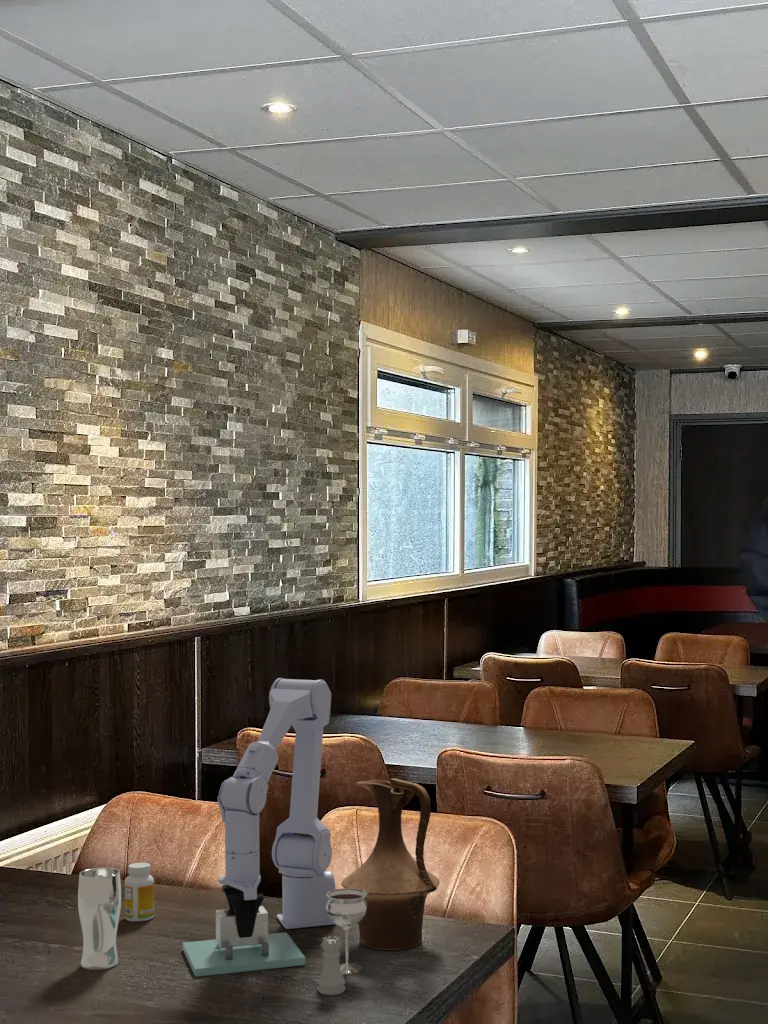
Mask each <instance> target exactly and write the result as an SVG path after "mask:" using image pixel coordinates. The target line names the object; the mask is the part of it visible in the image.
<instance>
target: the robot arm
mask: <svg viewBox="0 0 768 1024" xmlns="http://www.w3.org/2000/svg"><path fill="white" fill-rule="evenodd" d="M268 695H269V696H268V703H269V709H270V710H269V712H268V715H267V717H266V720H265V722H264V725H263V726H262V730H261V732H260V735H259V738H258V740H257V741H254V742H251V743H249V744H248V746H247V747H246V750H245V752H244V754H243V756H242V758H241V759H240V762H239V763H238V766H236V770H235V771H234V773H233V775H232V776H230V777H228V778H227V779H225V780H224V781H222V783H221V785H220V788H219V791H218V796H217V803H218V804H217V805H218V808H219V810H220V812H221V820H222V822H223V823H224V827H225V828H224V855H225V856H224V857H225V858H224V861H225V862H224V865H225V867H224V869H225V870H224V872H225V873H224V874H225V876H219V877H218V878H217V882H218V884H220V885H222V886H221V889H222V890H223V893H224V894H225V896H226V897H225V898H226V900H227V904H228V907H229V908H228V909H234V912H235V917H236V924H237V930H238V934H239V937H240V938H245V937H252V935H253V931H254V926H255V921H256V916H257V913H258V910H259V907H260V906H262V903H263V902H264V898H265V895H264V894H263V893H258V887H259V885H260V883H261V881H262V876H261V874H260V873H261V872H260V871H261V870H260V868H261V867H260V862H261V861H260V852H261V851H260V813H261V812H262V810H263V809H264V808H265V805H266V802H267V793H268V789H269V785H268V782H269V780H270V777H271V776H272V774H273V773H274V769H275V768H276V766H277V764H278V761H279V754H278V752H277V749H278V748H279V747H280V744H281V743H282V741H283V740H284V738H285V737H286V735H287V733H288V732H289V730H290V729H291V727H292V728H293V730H294V732H295V738H294V750H293V751H294V752H293V763H292V765H293V766H292V779H291V791H290V805H289V817H288V818H287V819H285V820H284V821H283V822H282V823H280V824H279V825H278V826H277V828H276V832H275V833H276V834H275V838H274V841H273V844H272V847H271V848H272V849H271V858H272V862H273V864H274V866H275V867H276V868H277V869H278V874H281V876H282V877H281V880H282V881H281V883H282V884H281V886H282V887H281V888H282V892H281V893H282V897H281V898H282V901H281V902H282V913H278V914H276V918H277V919H278V921H279V922H280V923H281V924H282V926H283V927H284V928H285V930H292V929H301V928H309V927H310V928H311V927H321V926H330V925H336V924H335V923H334V922H333V921H332V920H331V919H330V918H329V917H328V914H327V912H326V905H327V901H328V897H327V895H326V894H327V893H328V892H329V891H332V890H336V881H335V876H334V874H333V871H331V870H327V869H328V868H329V866H330V864H331V862H332V857H333V848H332V843H331V842H332V841H331V830H330V829H329V828H328V827H327V826H326V825H325V824H324V823H323V822H322V821H321V820H320V819H319V818H318V812H319V811H318V809H319V796H320V795H319V793H320V781H321V766H322V765H321V764H322V755H323V754H322V752H323V751H322V750H323V737H324V736H323V735H324V727H326V726H327V725H329V723H330V717H331V706H332V705H331V703H332V692H331V690H330V688H329V686H328V684H327V682H326V681H325V680H324V679H315V680H314V679H313V680H312V679H293V678H283V677H278V678H276V679H275V680H274V681H273V684H272V685H271V687H270V690H269V694H268ZM298 834H299V835H298ZM300 834H304V835H300ZM308 835H309V836H308Z"/></svg>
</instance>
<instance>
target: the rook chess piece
mask: <svg viewBox="0 0 768 1024" xmlns="http://www.w3.org/2000/svg"><path fill="white" fill-rule="evenodd" d="M342 946H343V944H342V943H341V942H340V937H338V936H333V937H332V936H331V935H328V936H327V937H326V936H325V937H323V938H322V942H321V944H320V947H321V949H322V950H323V953H322V954H321V955H322V958H323V961H322V962H323V963H322V970H321V973H320V975H319V978H318V980H317V985H318V986H317V987H316V989H317V992H318V993H319V994H320V995H324V996H330V997H331V996H338V995H341V994H343V993H344V992H345V990H346V988H347V987H346V986H345V984H346V979H345V977H344V976H343V975H344V974H342V973H341V970H340V957H341V953H340V949H341V947H342Z"/></svg>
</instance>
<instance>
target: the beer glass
mask: <svg viewBox="0 0 768 1024" xmlns="http://www.w3.org/2000/svg"><path fill="white" fill-rule="evenodd" d="M78 877H79V878H78V891H77V906H78V907H77V909H78V916H79V922H80V928H81V934H82V941H83V942H82V943H83V944H82V946H83V947H82V948H83V949H82V955H81V960H80V966H81V968H82V969H84V970H89V971H103V970H109V969H112V968H114V967H116V966H118V965H119V962H120V961H119V955H118V953H119V952H118V949H117V948H118V947H117V934H118V928H119V921H120V918H121V917H120V915H121V908H122V883H121V882H122V881H121V870H120V869H118V868H115V867H109V866H107V867H106V866H103V867H101V866H100V867H92V868H87V869H84V870H82V871H80V872H79V875H78Z"/></svg>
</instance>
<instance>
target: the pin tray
mask: <svg viewBox="0 0 768 1024" xmlns="http://www.w3.org/2000/svg"><path fill="white" fill-rule="evenodd" d="M182 951H184V952H183V954H184V956H185V958H186V961H187V962H188V964H189V966H190V969H191V971H192V973H193V975H194V977H195V978H196V977H198V978H199V977H206V976H214V975H215V976H216V975H224V974H234V973H241V972H251V971H253V972H254V971H261V970H269V969H279V968H288V967H297V966H305V965H306V956H305V955H304V953H303V952H302V951H301V949H300V948H299V947H298V946H297V945H296V943H295V941H294V940H293V939H292V938H291V936H290V935H289V934H288V933H287V932H277V933H268V942H262V943H261V944H258V945H249V946H239V947H233V946H231V945H228V946H225V948H220V947H219V945H218V943H217V941H216V938H215V939H207V940H196V941H186V942H185V941H184V942H182Z"/></svg>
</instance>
